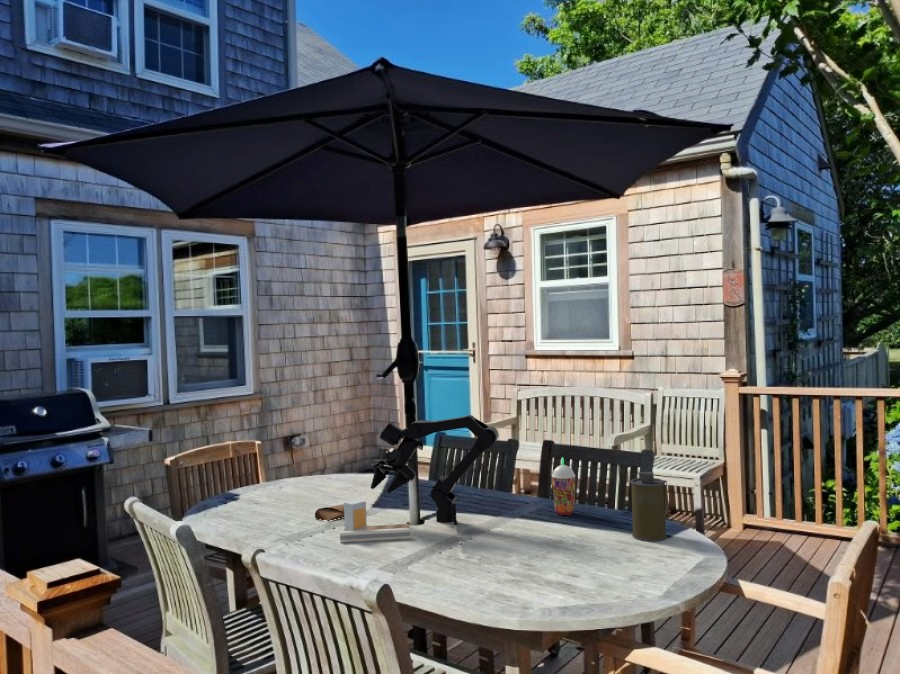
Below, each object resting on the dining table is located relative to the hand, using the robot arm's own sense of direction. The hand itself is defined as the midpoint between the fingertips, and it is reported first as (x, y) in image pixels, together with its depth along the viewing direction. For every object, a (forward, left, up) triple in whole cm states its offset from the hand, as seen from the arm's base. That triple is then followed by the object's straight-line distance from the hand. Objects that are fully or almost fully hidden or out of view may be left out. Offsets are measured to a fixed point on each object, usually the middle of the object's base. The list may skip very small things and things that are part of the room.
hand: (379, 490), depth 245 cm
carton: (+8, +8, -13) cm, 17 cm away
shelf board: (+1, +6, -14) cm, 15 cm away
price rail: (+1, +14, -13) cm, 19 cm away
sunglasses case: (+15, -22, -14) cm, 31 cm away
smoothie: (-65, -9, -14) cm, 67 cm away
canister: (-85, +23, -14) cm, 89 cm away
